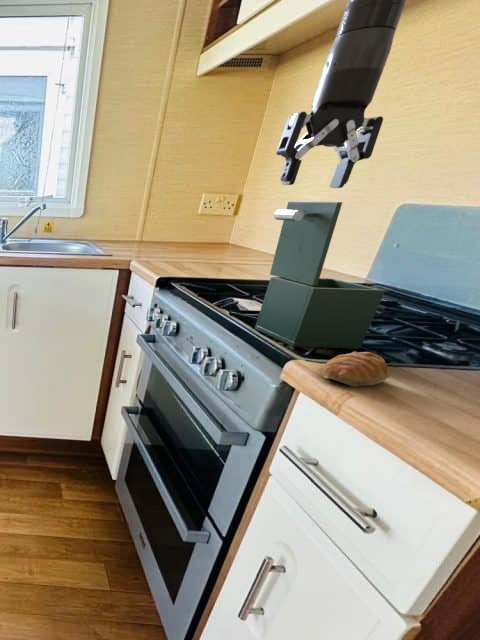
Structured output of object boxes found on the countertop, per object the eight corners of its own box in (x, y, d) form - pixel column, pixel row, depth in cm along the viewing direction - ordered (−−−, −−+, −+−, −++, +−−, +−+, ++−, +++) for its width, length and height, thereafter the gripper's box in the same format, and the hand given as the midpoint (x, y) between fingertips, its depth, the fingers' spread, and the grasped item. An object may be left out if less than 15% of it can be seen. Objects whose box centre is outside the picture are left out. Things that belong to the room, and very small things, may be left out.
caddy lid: (292, 201, 79) (265, 202, 79) (342, 202, 68) (311, 203, 68) (273, 274, 84) (248, 275, 84) (317, 285, 73) (288, 286, 74)
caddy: (313, 330, 89) (333, 278, 84) (360, 348, 78) (385, 290, 74) (254, 328, 89) (270, 276, 84) (292, 346, 78) (314, 288, 74)
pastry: (361, 393, 59) (372, 368, 58) (307, 376, 64) (316, 353, 63) (388, 381, 63) (399, 358, 62) (335, 367, 69) (344, 345, 67)
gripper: (325, 61, 62) (286, 183, 68) (420, 67, 62) (371, 188, 69) (289, 75, 69) (257, 184, 75) (375, 80, 69) (334, 189, 76)
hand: (311, 186), depth 72 cm, fingers open, 8 cm apart
